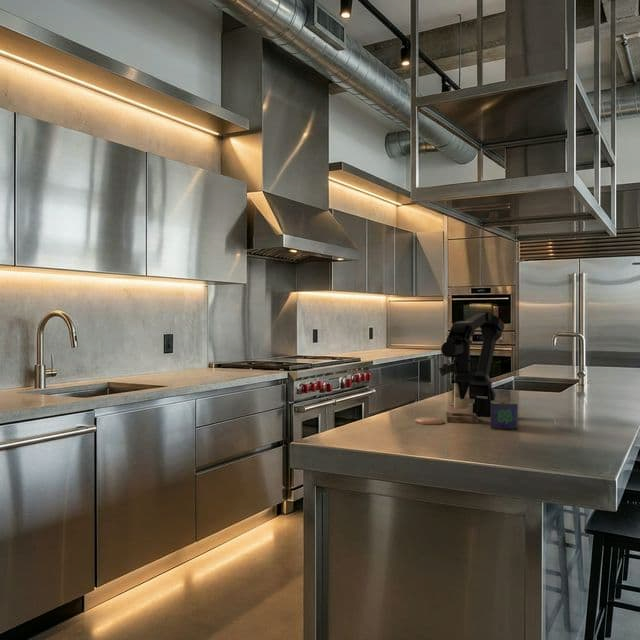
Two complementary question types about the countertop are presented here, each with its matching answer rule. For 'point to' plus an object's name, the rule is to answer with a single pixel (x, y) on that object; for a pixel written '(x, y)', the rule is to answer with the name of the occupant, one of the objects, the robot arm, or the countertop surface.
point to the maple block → (460, 402)
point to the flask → (504, 415)
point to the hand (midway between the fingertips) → (461, 398)
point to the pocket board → (461, 417)
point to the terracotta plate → (429, 421)
